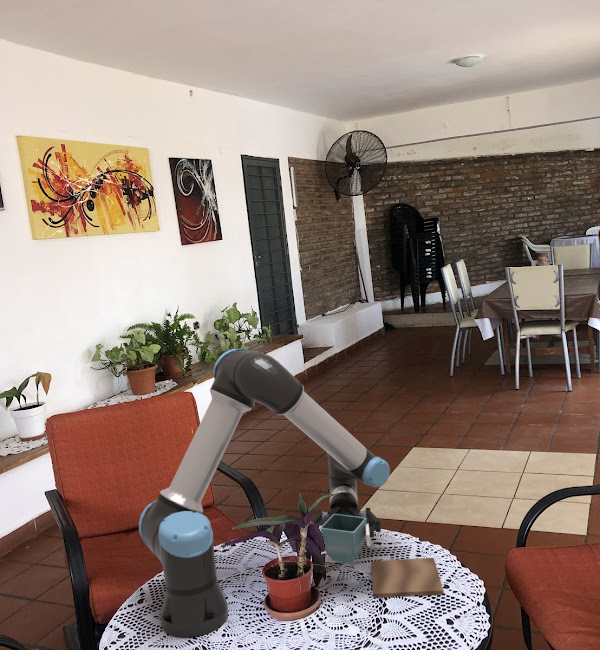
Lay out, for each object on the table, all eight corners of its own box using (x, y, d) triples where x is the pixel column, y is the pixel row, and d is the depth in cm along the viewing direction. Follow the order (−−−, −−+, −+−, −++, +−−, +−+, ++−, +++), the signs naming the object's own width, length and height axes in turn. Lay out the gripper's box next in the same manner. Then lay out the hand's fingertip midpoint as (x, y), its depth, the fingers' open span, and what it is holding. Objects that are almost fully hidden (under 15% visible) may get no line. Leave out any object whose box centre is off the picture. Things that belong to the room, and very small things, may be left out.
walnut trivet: (373, 597, 156) (373, 593, 156) (370, 564, 172) (370, 561, 172) (443, 594, 155) (443, 590, 155) (433, 561, 171) (433, 557, 171)
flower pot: (356, 569, 156) (354, 532, 155) (321, 564, 160) (319, 527, 159) (369, 552, 164) (367, 517, 163) (335, 548, 167) (333, 513, 166)
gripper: (388, 516, 178) (394, 555, 156) (301, 520, 180) (296, 559, 158) (386, 489, 178) (393, 524, 156) (299, 493, 179) (294, 528, 157)
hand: (344, 541), depth 157 cm, fingers closed on flower pot, 10 cm apart
